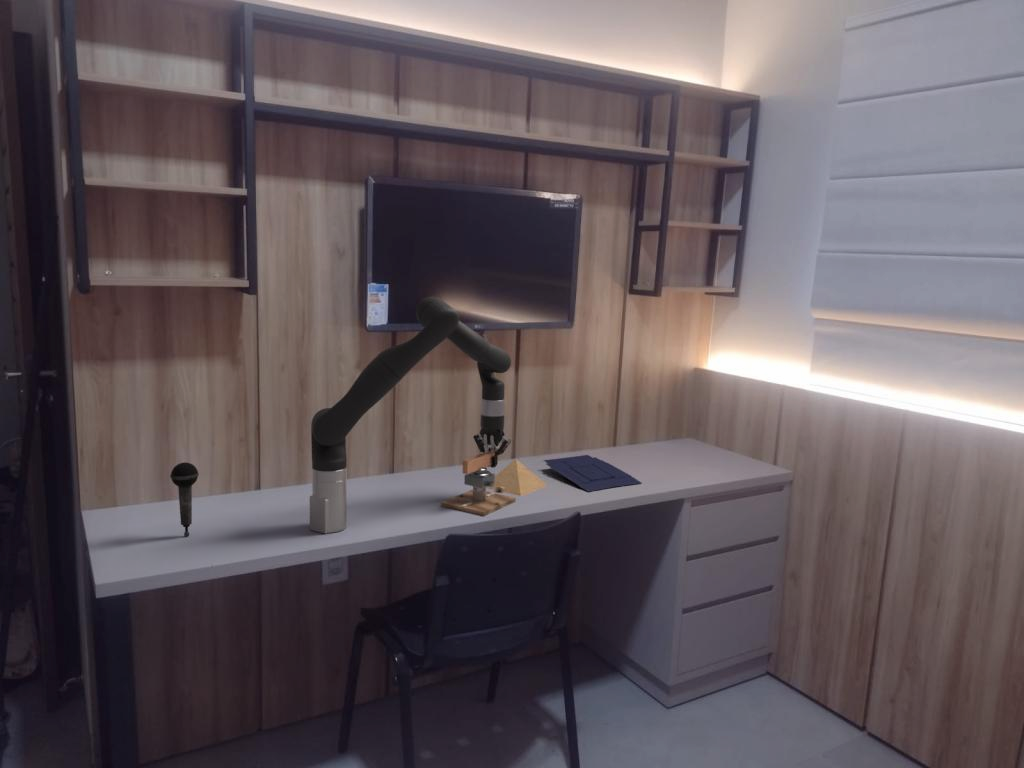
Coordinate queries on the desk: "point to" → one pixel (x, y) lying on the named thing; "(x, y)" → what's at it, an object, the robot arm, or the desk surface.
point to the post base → (478, 501)
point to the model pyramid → (516, 480)
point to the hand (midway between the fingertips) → (491, 466)
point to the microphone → (185, 490)
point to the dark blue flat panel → (591, 472)
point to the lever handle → (478, 470)
